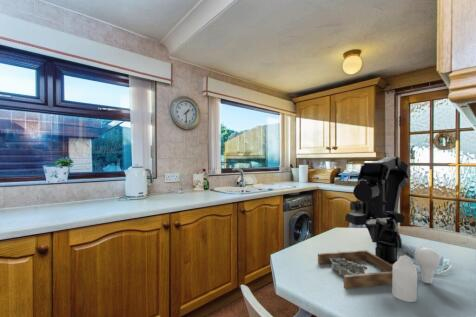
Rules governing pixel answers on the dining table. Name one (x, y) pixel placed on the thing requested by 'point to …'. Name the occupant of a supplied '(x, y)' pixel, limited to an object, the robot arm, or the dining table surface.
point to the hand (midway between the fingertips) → (374, 242)
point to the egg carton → (347, 267)
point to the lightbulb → (427, 262)
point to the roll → (404, 279)
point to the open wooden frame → (361, 279)
